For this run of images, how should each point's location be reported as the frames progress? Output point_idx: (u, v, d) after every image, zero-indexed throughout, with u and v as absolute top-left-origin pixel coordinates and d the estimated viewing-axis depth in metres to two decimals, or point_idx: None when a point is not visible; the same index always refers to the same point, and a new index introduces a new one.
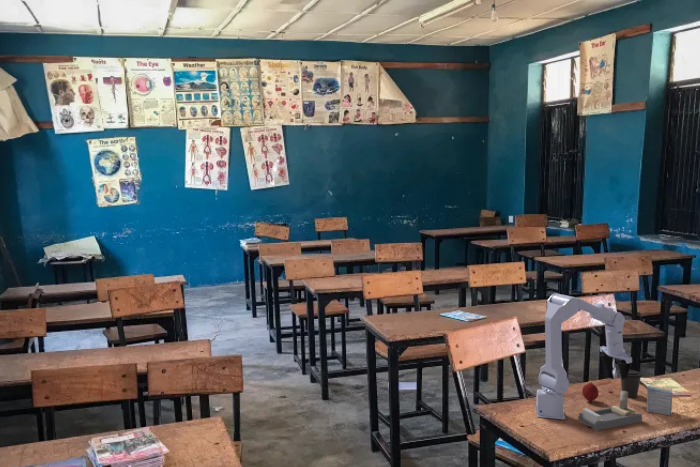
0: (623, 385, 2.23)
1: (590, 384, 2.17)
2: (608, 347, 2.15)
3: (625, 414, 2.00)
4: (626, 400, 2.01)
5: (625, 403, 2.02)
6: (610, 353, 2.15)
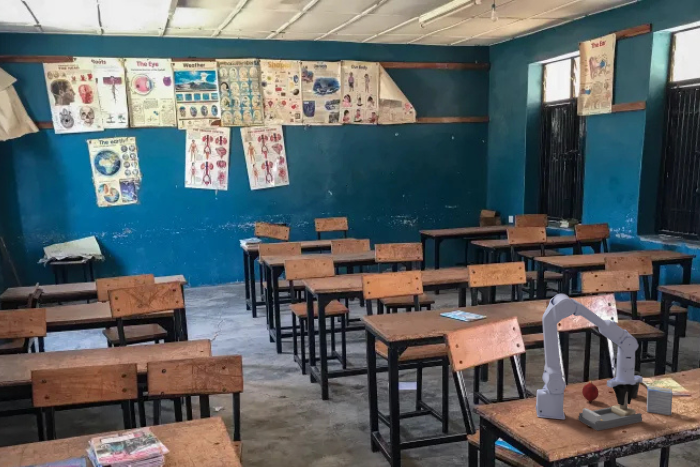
0: None
1: (590, 384, 2.17)
2: None
3: (625, 414, 2.00)
4: (626, 400, 2.01)
5: (625, 403, 2.02)
6: None
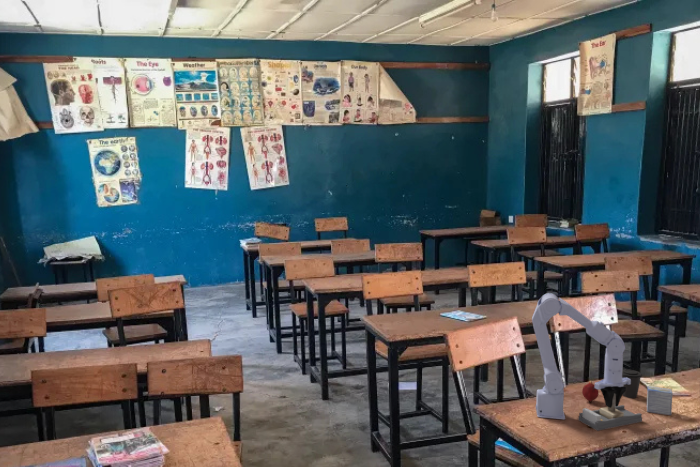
0: (623, 385, 2.23)
1: (590, 384, 2.17)
2: None
3: (613, 416, 1.98)
4: (614, 402, 2.00)
5: (613, 405, 2.00)
6: None
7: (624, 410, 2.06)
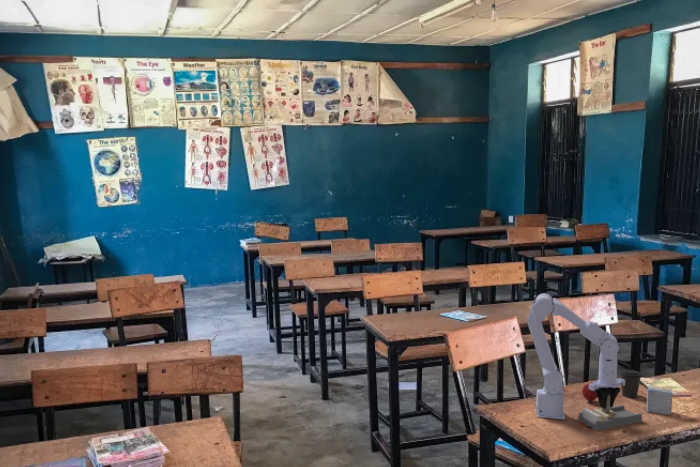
0: None
1: None
2: None
3: (607, 418, 1.97)
4: (608, 403, 1.99)
5: (607, 406, 1.99)
6: None
7: (624, 410, 2.06)
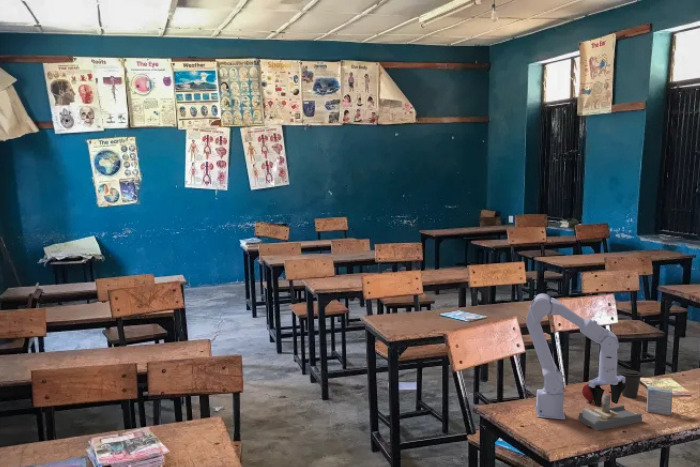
0: None
1: None
2: None
3: (607, 418, 1.97)
4: (608, 403, 1.99)
5: (607, 406, 1.99)
6: None
7: (624, 410, 2.06)
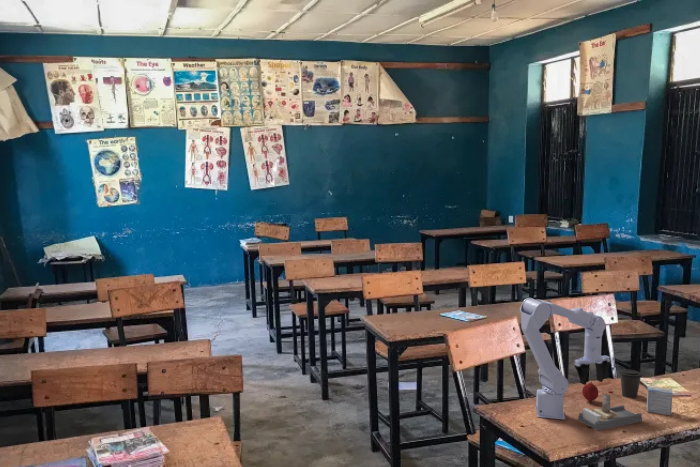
0: (623, 385, 2.23)
1: (590, 384, 2.17)
2: None
3: (607, 418, 1.97)
4: (608, 403, 1.99)
5: (607, 406, 1.99)
6: None
7: (624, 410, 2.06)
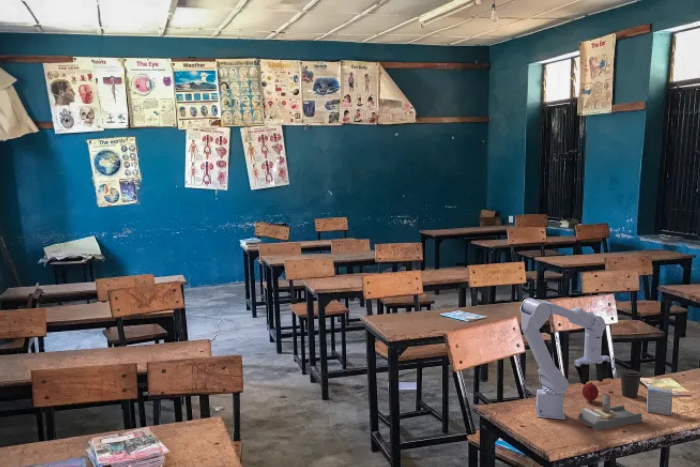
0: (623, 385, 2.23)
1: (590, 384, 2.17)
2: None
3: (607, 418, 1.97)
4: (608, 403, 1.99)
5: (607, 406, 1.99)
6: None
7: (624, 410, 2.06)
